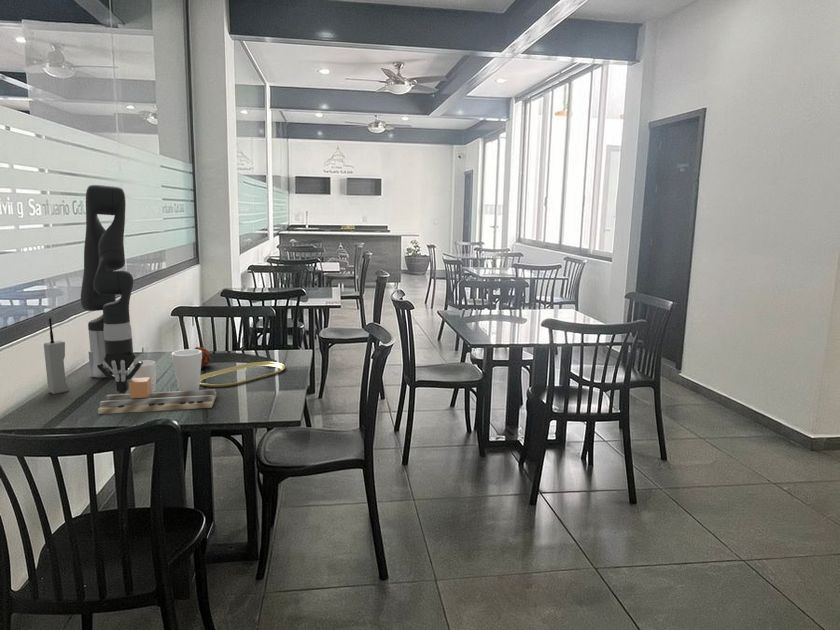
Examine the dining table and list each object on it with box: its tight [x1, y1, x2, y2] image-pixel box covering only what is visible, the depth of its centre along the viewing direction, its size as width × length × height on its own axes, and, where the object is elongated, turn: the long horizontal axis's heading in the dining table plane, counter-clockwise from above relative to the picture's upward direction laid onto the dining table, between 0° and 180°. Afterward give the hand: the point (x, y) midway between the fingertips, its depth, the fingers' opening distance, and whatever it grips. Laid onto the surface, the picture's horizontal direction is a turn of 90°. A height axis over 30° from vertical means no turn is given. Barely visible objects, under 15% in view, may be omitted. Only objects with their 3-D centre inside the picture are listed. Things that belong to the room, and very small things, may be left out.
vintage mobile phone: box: [43, 317, 70, 395], centre depth 198 cm, size 4×5×25 cm
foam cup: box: [171, 348, 202, 391], centre depth 201 cm, size 10×9×13 cm
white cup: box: [129, 359, 157, 392], centre depth 199 cm, size 8×8×10 cm
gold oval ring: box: [199, 361, 286, 388], centre depth 221 cm, size 19×35×2 cm, turn 145°
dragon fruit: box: [194, 346, 212, 369], centre depth 232 cm, size 8×8×12 cm
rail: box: [97, 388, 217, 415], centre depth 186 cm, size 32×12×3 cm, turn 101°
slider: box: [128, 377, 152, 399], centre depth 185 cm, size 5×5×7 cm
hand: (122, 392), depth 184 cm, fingers closed
